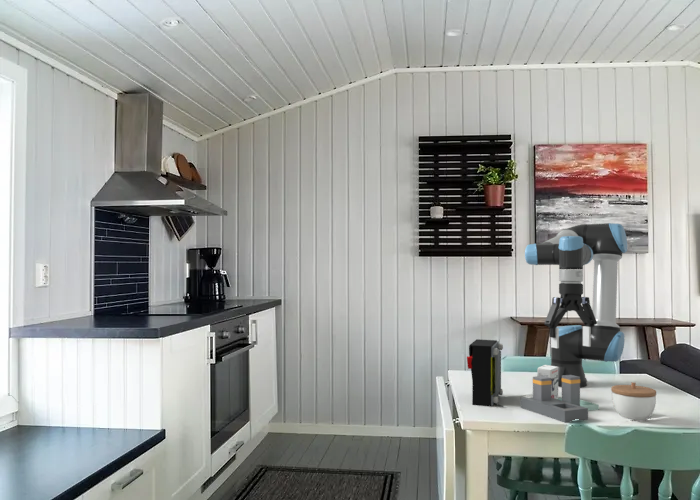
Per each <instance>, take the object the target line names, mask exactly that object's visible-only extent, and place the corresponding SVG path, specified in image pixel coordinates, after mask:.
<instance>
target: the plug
mask: <svg viewBox="0 0 700 500" xmlns="http://www.w3.org/2000/svg"><path fill="white" fill-rule="evenodd" d="M561 398H562V401H565V402H568V403H571V404H575V405H578V406H580V399H581V387H580V377H578V376H574V375H563V376H562V387H561Z"/></svg>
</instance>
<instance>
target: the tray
mask: <svg viewBox="0 0 700 500" xmlns="http://www.w3.org/2000/svg"><path fill="white" fill-rule="evenodd" d="M557 399H558V400H561V401H562V397H558V398H557ZM580 406H582V407H585V408H588V412H589V411H596V410H600V409H599V408H600V405H599V404H598V403H594V402H590V401H587V400H583V399H581V398H580Z"/></svg>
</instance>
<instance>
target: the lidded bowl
mask: <svg viewBox="0 0 700 500" xmlns="http://www.w3.org/2000/svg"><path fill="white" fill-rule="evenodd" d="M610 388H611V389H610V390H611V400H612V404H613V405H612V406H613V408H614V410H615V412H616V413H617V414H618V415H619V416H620V417H622V418H624V419H628V420H629V419H630V421H631V422H646V421H647V420H648V419H649V417H651V415H652V414H654V411H655V410H656V409H655V408H656V404H657V403H656V402H657V390H655V388H651V387H647V386H643V385H637V384H636V382H635V381H633V382H631V384H616V385H612V386H611V387H610Z"/></svg>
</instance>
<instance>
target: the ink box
mask: <svg viewBox="0 0 700 500" xmlns="http://www.w3.org/2000/svg"><path fill="white" fill-rule="evenodd" d="M536 373H537V376H545V377H549V378H551V381H552V384H551V398H554V399H557V398H559V386H558V367H556V366H551V364H550V365H549V364H543V365H542V366H538V367H537V372H536Z"/></svg>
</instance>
